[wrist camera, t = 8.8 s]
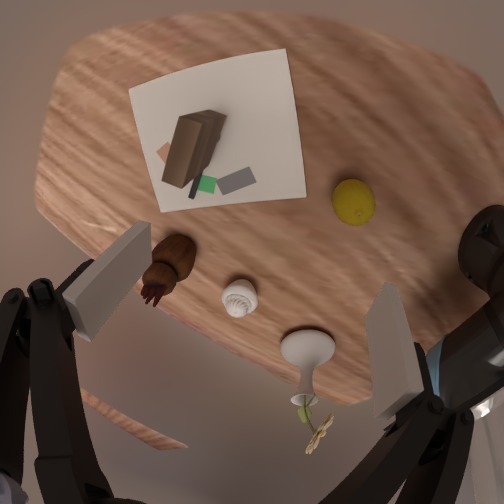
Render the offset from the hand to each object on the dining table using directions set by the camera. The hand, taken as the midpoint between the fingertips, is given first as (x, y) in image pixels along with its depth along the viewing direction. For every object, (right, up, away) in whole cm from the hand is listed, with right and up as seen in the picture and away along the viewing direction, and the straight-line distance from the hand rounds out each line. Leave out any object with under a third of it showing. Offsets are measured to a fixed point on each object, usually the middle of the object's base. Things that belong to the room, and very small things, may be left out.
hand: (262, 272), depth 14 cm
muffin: (-2, -5, +34) cm, 34 cm away
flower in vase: (+11, -17, +39) cm, 44 cm away
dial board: (-5, +17, +20) cm, 27 cm away
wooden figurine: (-12, +2, +31) cm, 34 cm away
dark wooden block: (-7, +14, +20) cm, 25 cm away
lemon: (+13, +10, +21) cm, 27 cm away
